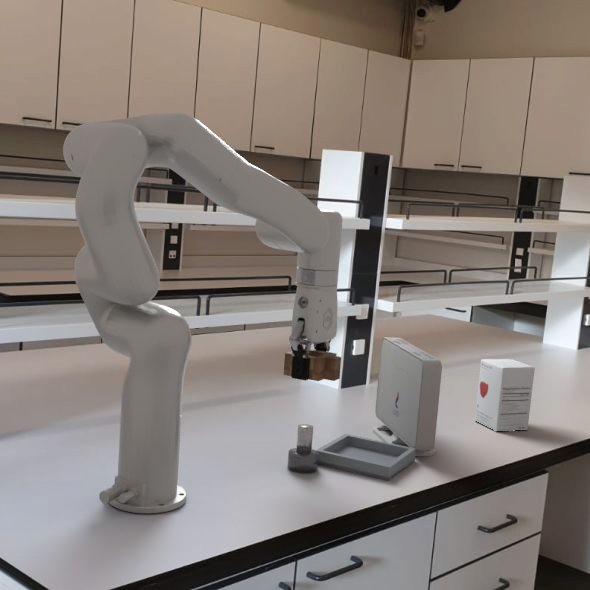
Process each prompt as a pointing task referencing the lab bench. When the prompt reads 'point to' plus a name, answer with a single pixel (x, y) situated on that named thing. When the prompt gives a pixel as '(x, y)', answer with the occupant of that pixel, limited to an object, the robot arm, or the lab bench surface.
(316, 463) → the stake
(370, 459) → the tray
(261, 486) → the lab bench surface
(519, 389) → the supplement box
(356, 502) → the lab bench surface
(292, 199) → the robot arm
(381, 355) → the network device
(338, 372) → the collar
